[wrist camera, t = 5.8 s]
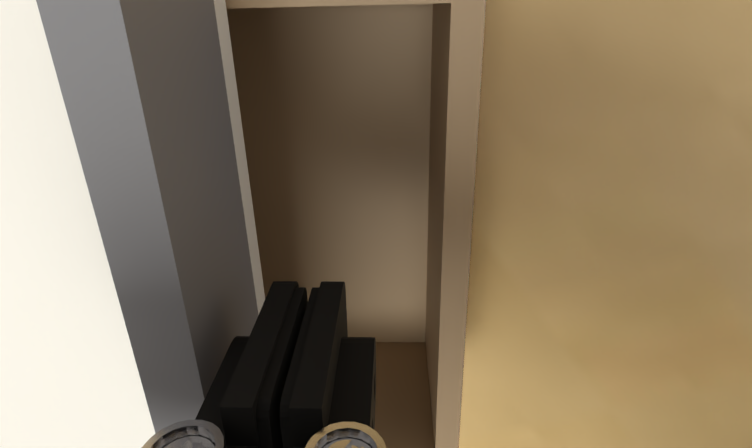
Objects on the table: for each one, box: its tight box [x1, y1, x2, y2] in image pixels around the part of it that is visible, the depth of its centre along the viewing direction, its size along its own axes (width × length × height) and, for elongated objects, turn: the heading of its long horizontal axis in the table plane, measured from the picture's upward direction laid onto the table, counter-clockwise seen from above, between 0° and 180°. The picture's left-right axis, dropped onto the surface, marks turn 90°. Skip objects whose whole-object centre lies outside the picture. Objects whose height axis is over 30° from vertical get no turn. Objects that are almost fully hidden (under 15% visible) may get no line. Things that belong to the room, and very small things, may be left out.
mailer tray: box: [225, 0, 486, 448], centre depth 18 cm, size 22×16×7 cm
